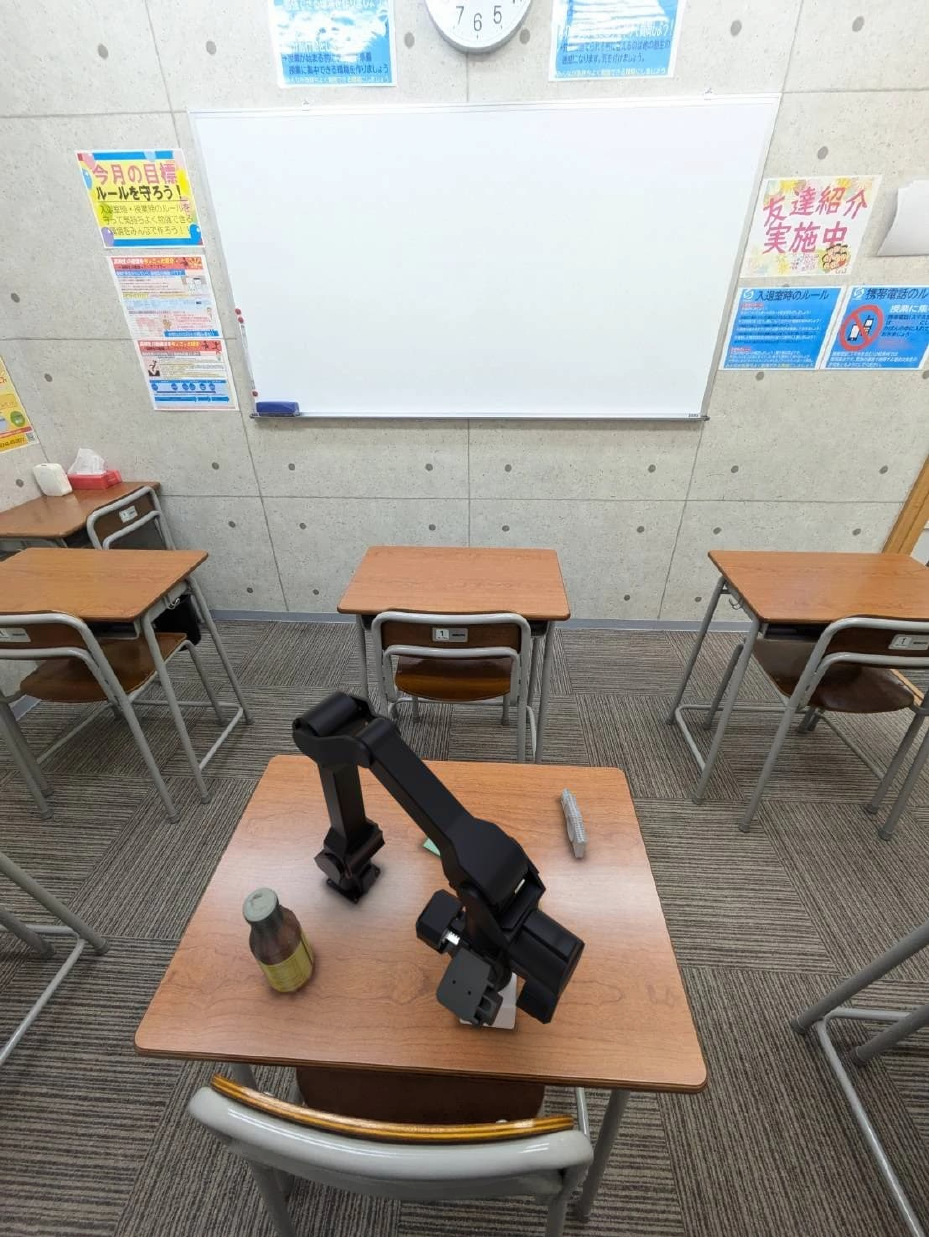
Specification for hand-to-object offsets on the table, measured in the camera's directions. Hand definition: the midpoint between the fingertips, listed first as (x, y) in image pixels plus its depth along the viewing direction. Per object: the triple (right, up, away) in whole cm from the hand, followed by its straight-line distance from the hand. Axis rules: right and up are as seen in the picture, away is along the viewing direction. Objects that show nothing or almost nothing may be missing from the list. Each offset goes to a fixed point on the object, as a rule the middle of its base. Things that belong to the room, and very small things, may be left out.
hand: (488, 980), depth 68 cm
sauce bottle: (-27, -3, +5) cm, 28 cm away
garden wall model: (+16, +10, +24) cm, 30 cm away
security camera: (0, -4, +3) cm, 5 cm away
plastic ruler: (-3, +7, +19) cm, 20 cm away
